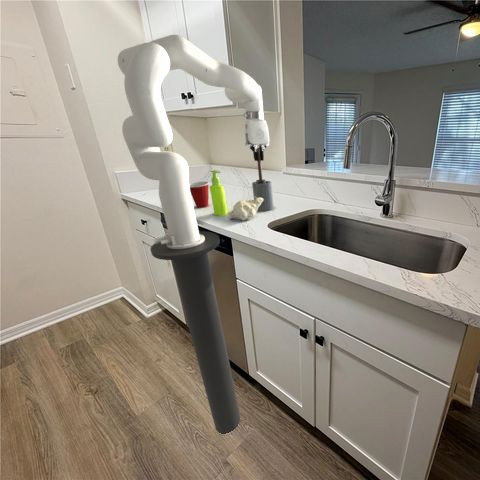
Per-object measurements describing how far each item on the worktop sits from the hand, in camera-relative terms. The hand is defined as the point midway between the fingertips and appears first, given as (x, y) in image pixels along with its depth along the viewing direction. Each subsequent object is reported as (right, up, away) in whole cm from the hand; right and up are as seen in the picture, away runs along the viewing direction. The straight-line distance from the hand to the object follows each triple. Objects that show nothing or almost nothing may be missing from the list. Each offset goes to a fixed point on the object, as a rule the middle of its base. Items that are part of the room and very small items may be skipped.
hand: (259, 160), depth 120 cm
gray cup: (0, -21, +9) cm, 23 cm away
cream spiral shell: (-4, -27, -4) cm, 28 cm away
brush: (0, -13, +5) cm, 14 cm away
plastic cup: (-33, -20, +15) cm, 42 cm away
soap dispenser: (-18, -25, +2) cm, 31 cm away
